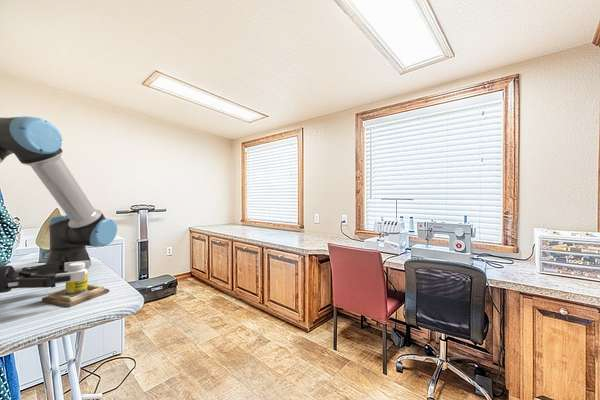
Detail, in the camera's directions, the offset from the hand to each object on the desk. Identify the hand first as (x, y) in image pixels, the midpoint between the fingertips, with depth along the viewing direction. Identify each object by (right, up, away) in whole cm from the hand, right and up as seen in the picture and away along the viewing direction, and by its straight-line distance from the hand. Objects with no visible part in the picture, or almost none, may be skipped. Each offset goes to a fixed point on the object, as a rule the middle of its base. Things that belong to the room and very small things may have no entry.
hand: (87, 269), depth 86 cm
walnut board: (-2, -8, -1) cm, 9 cm away
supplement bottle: (-3, -8, -1) cm, 8 cm away
